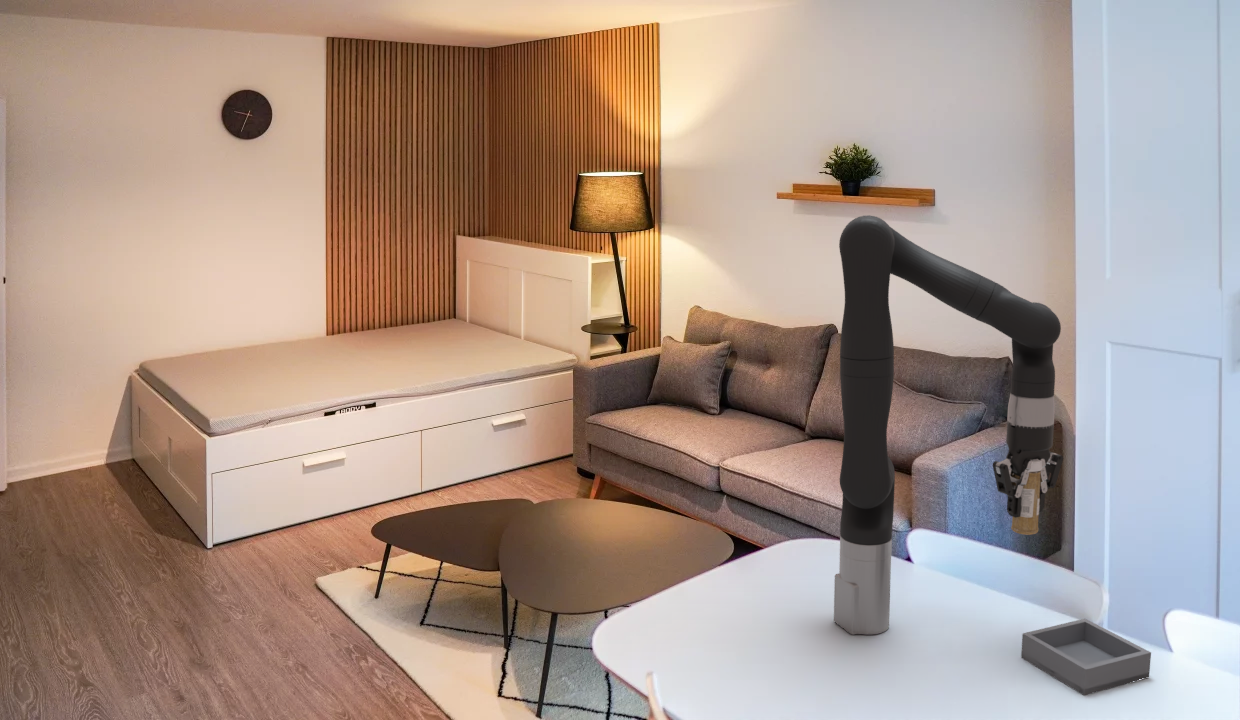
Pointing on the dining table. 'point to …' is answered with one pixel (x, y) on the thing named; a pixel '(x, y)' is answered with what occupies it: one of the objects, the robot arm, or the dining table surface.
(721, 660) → the dining table surface
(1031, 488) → the sprinkles bottle
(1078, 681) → the bin
